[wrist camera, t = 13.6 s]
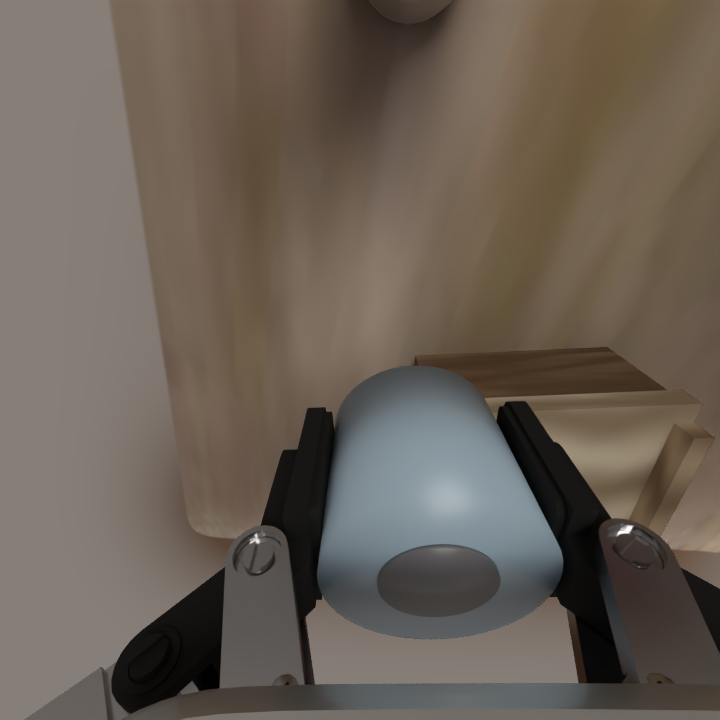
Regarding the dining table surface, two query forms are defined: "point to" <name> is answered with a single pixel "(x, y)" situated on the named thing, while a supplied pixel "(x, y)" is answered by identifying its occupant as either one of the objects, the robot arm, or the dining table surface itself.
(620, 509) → the lid
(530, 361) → the box
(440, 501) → the blue cylinder with recess
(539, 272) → the dining table surface
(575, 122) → the dining table surface
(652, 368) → the dining table surface
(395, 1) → the plastic bottle
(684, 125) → the dining table surface
